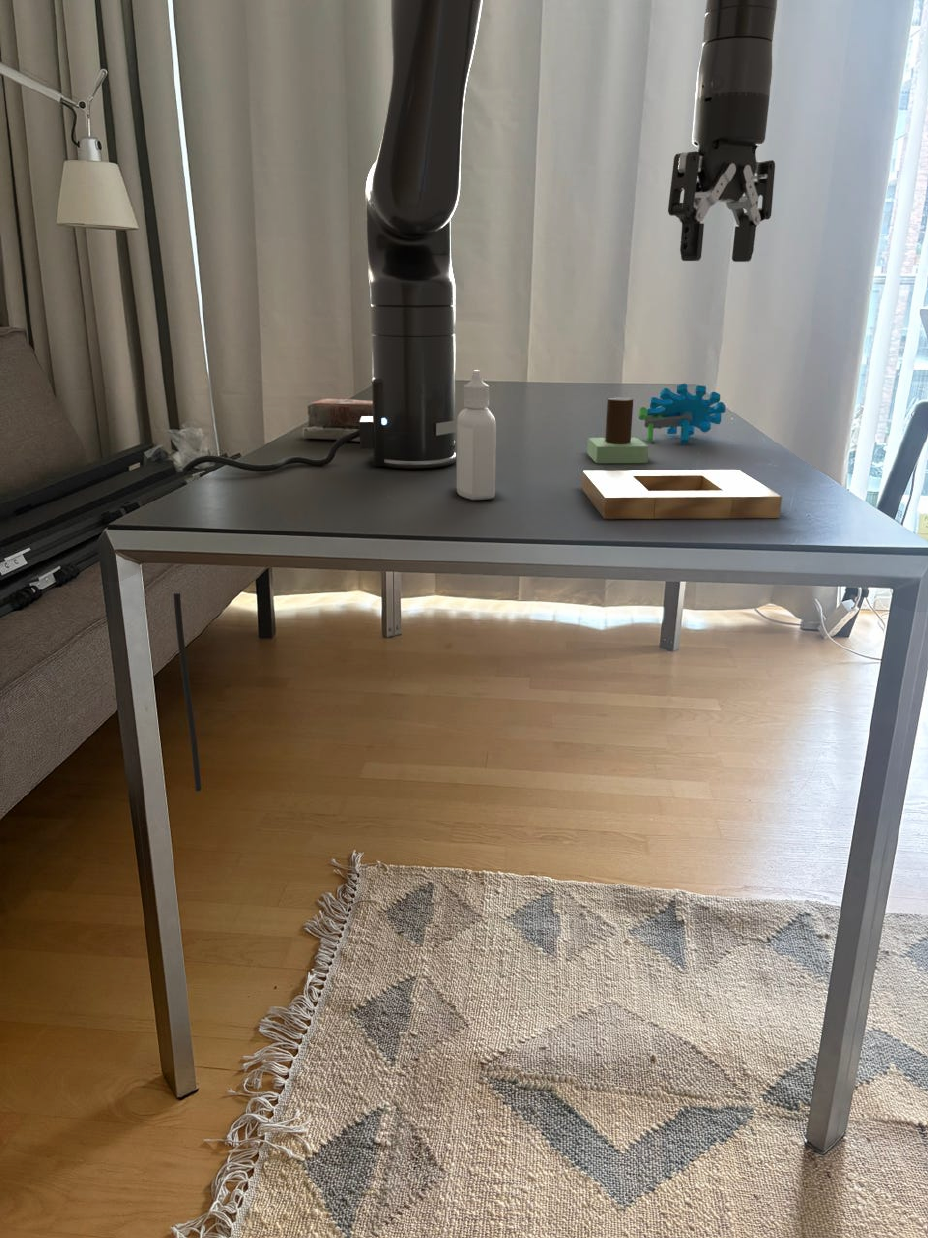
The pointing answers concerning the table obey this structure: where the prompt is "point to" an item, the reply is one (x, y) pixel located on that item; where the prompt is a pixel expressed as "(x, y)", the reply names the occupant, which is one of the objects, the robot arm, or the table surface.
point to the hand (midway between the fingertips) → (716, 261)
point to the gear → (682, 412)
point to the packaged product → (335, 418)
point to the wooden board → (679, 494)
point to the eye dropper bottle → (476, 443)
